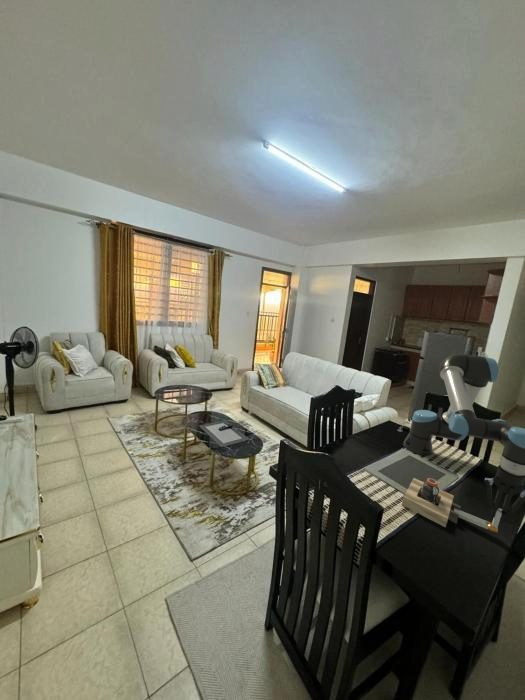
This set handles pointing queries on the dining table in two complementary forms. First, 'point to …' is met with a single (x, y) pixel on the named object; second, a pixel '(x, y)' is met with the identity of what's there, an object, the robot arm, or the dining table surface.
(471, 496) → the dining table surface
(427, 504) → the block
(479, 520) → the ring bar
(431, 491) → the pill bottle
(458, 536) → the dining table surface
